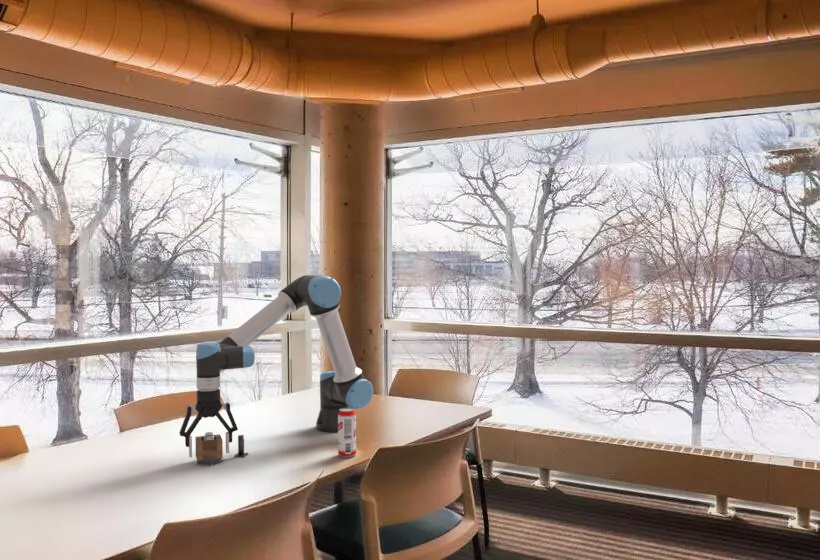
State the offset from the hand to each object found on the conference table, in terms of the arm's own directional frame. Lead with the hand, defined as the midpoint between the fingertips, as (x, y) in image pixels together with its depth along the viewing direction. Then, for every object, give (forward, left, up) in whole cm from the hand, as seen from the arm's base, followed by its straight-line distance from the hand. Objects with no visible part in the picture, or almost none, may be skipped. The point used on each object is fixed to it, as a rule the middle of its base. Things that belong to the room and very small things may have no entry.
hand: (209, 454), depth 219 cm
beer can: (-12, +45, -3) cm, 46 cm away
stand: (-8, +8, -3) cm, 12 cm away
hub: (0, 0, -3) cm, 3 cm away
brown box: (0, 0, -1) cm, 1 cm away
